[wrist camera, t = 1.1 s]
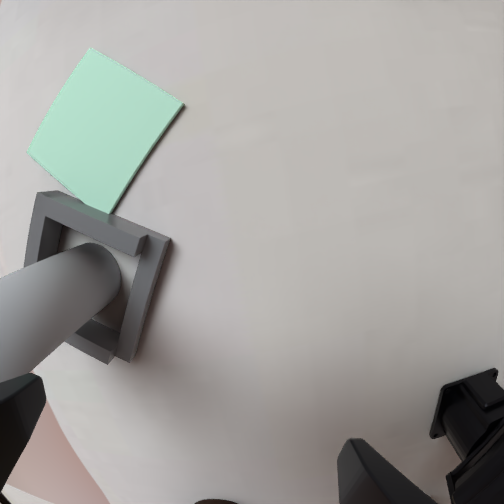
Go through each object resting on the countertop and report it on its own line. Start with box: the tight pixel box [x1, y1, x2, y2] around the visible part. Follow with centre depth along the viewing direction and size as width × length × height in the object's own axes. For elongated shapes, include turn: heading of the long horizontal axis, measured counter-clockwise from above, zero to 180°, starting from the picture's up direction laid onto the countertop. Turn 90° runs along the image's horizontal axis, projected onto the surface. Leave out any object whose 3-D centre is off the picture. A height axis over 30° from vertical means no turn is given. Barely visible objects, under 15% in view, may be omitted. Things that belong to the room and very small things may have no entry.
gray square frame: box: [24, 191, 171, 365], centre depth 20 cm, size 9×9×2 cm
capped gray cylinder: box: [0, 243, 121, 382], centre depth 14 cm, size 5×5×14 cm
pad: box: [27, 48, 184, 214], centre depth 18 cm, size 9×9×1 cm
